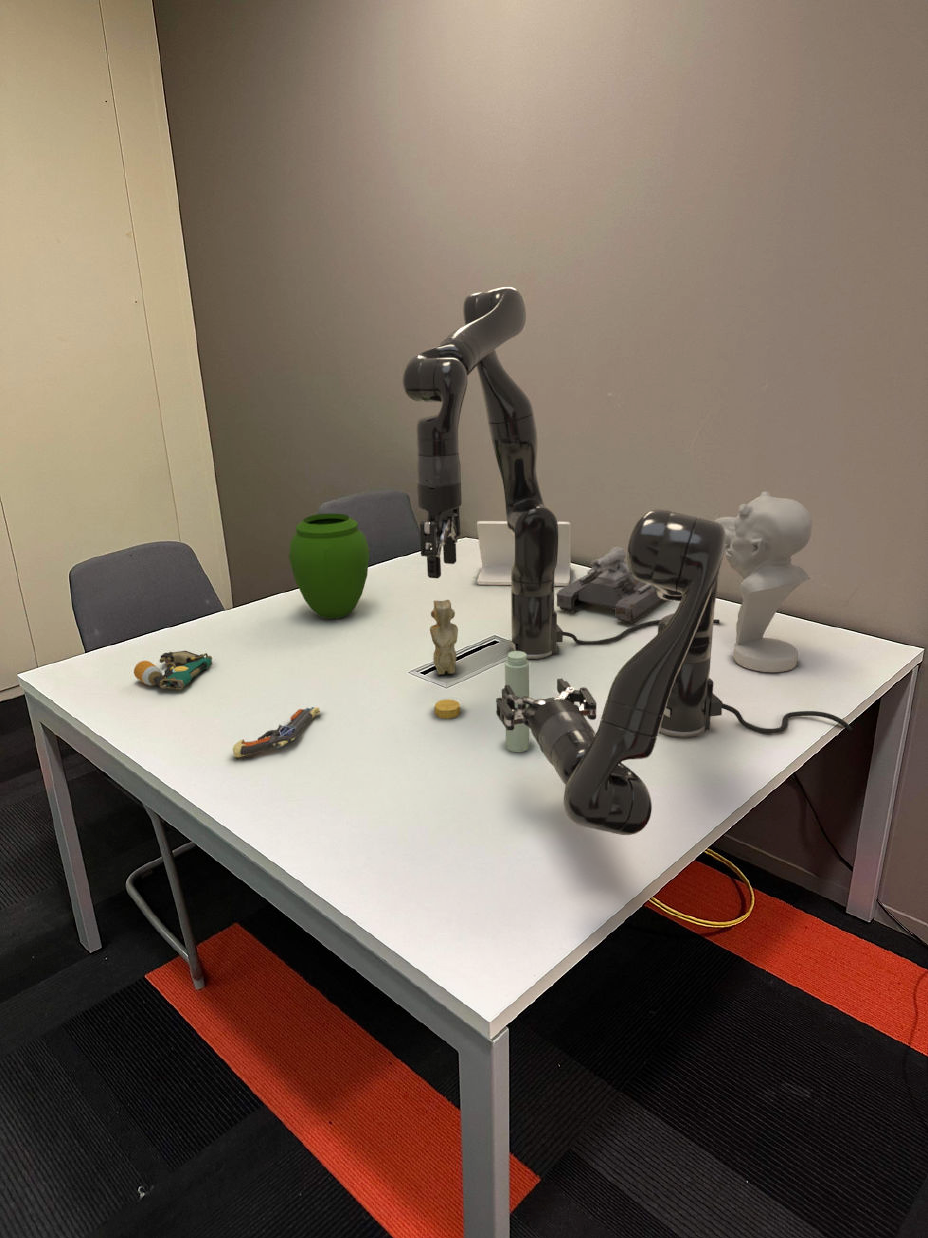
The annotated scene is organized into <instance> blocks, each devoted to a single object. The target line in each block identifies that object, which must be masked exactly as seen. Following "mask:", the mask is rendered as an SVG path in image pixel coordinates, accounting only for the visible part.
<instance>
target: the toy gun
mask: <svg viewBox="0 0 928 1238" xmlns="http://www.w3.org/2000/svg"><path fill="white" fill-rule="evenodd" d="M320 713H321V710H320V707H314V706H311V707H310V708H309V707H306V708H299V709H298V710H296V712H294V714H292V715H291V717H290V720H289V722H288V723H287V724H286V725H282V724H279V725H278V727H277V728H276V729H271V730H270V729H269V730H267V731H266V732H265V733H264V734H263V735H261V736H259V737H258V738H257V740H253V741H245V739H244V738H243V739H241V740H238V742H236V743H235V744H234V745H233V747H232V753H233V756H234V757H235V758H241V757H245V756H249V755H254V754H255V753H256V754H257V753H260V752H263V751H268V750H270V749H273V748H276V747H279V746H280V747H284V746H285V745H287V744H289V742H292V741H294V740H295V739H296V738H297V737H298V736H299V735H300V734H301V732H302V731H303V729H304V727H305V726H306V725H307V724H308V723H309V722H310V721H311V720H312V719H314V717H315V716H316V715H319V714H320Z"/></svg>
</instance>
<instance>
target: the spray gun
mask: <svg viewBox="0 0 928 1238" xmlns="http://www.w3.org/2000/svg"><path fill="white" fill-rule="evenodd" d="M212 660H213V657H212V656H211V655H208V653H207V652H205V653H201V654H197V653H194V652H192V651H191V652H190V651H188V650H180V651H169V652H164V653H162V654H161V655H160V658H159V660H158V662H159V663H161V664H163V663H165V664H166V668H165V670H163V672H164V674H163V673H162V669H160V668H159V666H157V665H156V664H154V663H152V662H151V661H149V660H141V661H139V662H138V663H136V665H135V666H134V668H133V675H134V677H135V678H136V679H137V680H139V681H140V682H142V683H143V684H145V685H147V686H155V685H157V686H158V687H160V688H161V689H171V690H172V689H173V690H182V689H184V687H185V686H186V685H188V684H189V683H190V682H191V681H192V679H193V678H195V677H196V676H197V675H198V674H200V673H201V672H202V671H203V670H206V669H208V668H209V667H210V666H211V665H212V662H213V661H212ZM178 663H179V664H181V665H179V666H176V665H177V664H178Z"/></svg>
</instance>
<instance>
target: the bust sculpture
mask: <svg viewBox="0 0 928 1238" xmlns="http://www.w3.org/2000/svg"><path fill="white" fill-rule="evenodd" d="M713 522H716V523H719V524H721V525H722V526H723V527H724V529H725V533H726V544H725V550H724V554H725V557H726V560H727V561H728V563H729V565H730V568H731V569H732V570H734V572H736V573H737V574H738V575H739V576H741V577H742V578H743V580H742V581H741V583H740V585H739V591H740V593H741V597H742V599H743V600H742V602H741V604H740V607H739V610H738V613H737V621H736V625H735V633H736V634H735V643H734V645H733V653H732V654H733V655H732V658H733V661H734V662H735V663H736V664H738V665H739V666H741V667H743V668H745V669H749V670H751V671H756V672H761V673H782V672H786V671H791V670H793V669H794V668H795V667H796V666H797V664H798V663H797V662H798V656H799V650H798V649H797V647H796V646H794V645H793V644H792V643H789V642H787V641H784V640H782V639H781V640H780V639H777V638H776V639H775V638H770V637H764V635H765V633H766V631H767V629H768V627H769V625H770V623H771V621H772V619H773V618H774V616H775V614H776V612H778V610H779V609H780V607H781V606H782V605H783V603H784V601H786V599H787V598H788V597H789V595H791V594H792V593H793V592H794V590H796V589H797V588H798V587H799V586H801V585H802V584H803V583H805V582H807V581H808V580H811V577H810V575H809V574H808V573H807V571H806V570H805V569H804V568H802V567H801V566H800V565H795V564H792V556H793V555H796V554H799V552H801V551H802V550H804V548H805V547H806V546H807V545H808V544H809V542H810V538H811V535H812V530H813V522H812V516H811V515H810V512H809V511H808V509H807V508H806V507H805V506H804V505H803V504H802V503H800V502H799V501H797V500H795V499H791V498H783V497H774V496H771V494H770V492H769V491H762V492H761V494H760V496H757V497H756V498H754V499H753V500H751V501H749V502H748V504H746V503H742V504H740V505H739V507H738V511H737V516H736V517H732V516H723V517H720V518H716V519H715V520H713Z"/></svg>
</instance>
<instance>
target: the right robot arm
mask: <svg viewBox="0 0 928 1238" xmlns="http://www.w3.org/2000/svg"><path fill="white" fill-rule="evenodd" d="M629 536H630V537H629V539H628V544H627V552H626V553H627V554H626V558H627V561H626V562H627V564H628V567H629V570H630V573H631V575H632V576H633V577H634V578H635V579H637V580H639V581H641V582H644V583H647V584H650V585H653V589H654V592H655V593H656V595H657V596H658V597H659V598H661V599H664V600H666V601H672V602H674V601H675V602H679V604H678V606H677V607H676V610H675V611H674V613H670V614H667V615H665V616H664V617H662V618H661V619H659V620H660V622H659V624H657V634H656V635H655V636H654V637H653V638H652V639H651V640H650V641H649V642H647V643H646V644H645V645H644V646H643V647H641V649H639V650H638V651H637V652H636V653H635V654H634V655H633V656H632V657H631V658H629V659H628V660H627V661H626V663H625V664H623V665H622V667H621V668H620V669H619V671H618V672H617V674H616V675H615V677H614V679H613V680H612V682H611V686H610V688H609V690H608V695H607V698H606V700H605V701H606V702H605V704H604V708H603V711H602V714H601V717H600V721H599V725H598V728H597V730H596V732H595V730H594V728H593V726H592V725H591V724H590V723H589V721H588V720H591V721H593V720H596V719H597V702H596V699H594V697H593V695H592V694H591V692H590V690H589V689H588V688H587V687H583V686H582V687H580V688H579V689H576V688H575V687H573V686H571V684H570V683H569V681H567V680H564V679H563V678H557V680H556V691H557V692H558V694H559V695H557V696H556V697H554V696H553V697H547V698H539V699H538V698H537V699H536V698H532V697H530V696H529V697H527V696H522V697H518V696H515V694H514V692H513V690H512V689H511V687H510V685H505V684H504V685H503V686H504V687H503V688H501V697H497V698H495V703H496V704H495V705H496V711H495V712H496V713H495V714H496V716H497V718H498V719H499V720H500V722H501V723H502V726H503V727H504V728H505V730H506V729H507V730H514V725H517V724H523V723H524V725H526V726H528V727H529V730H530V731H531V734H532V736H533V738H534V739H535V741H536V743H537V744H538V746H539V748H540V751H541V753H543V755H544V757H545V758H546V759H547V761H548V763H550V765H552V767H553V768H554V770H555V772H556V773H557V775H558V777H559V778H560V780H561V781H562V783H563V784H564V786H565V789H564V792H563V806H564V807H563V808H564V811H565V815H566V816H567V818H568V819H569V821H571V822H572V823H573V824H575V825H577V826H580V827H584V828H588V829H593V830H597V831H601V832H607V833H611V834H616V835H620V836H633V835H636V834H638V833H640V832H641V831H643V830H644V829H645V828H646V827H647V825H648V823H649V822H650V819H651V816H652V810H653V804H652V803H653V802H652V797H651V794H650V792H649V789H648V787H647V786H646V784H645V782H644V781H643V780H642V779H641V777H640V776H639V775H637V773H635V772H634V771H633V770H632V769H630V768H629V767H628V766H626V765H625V764H624V763H622V762H624V761H628V760H629V761H630V760H633V761H634V760H645V759H648V758H649V757H650V756H651V755H652V753H653V752H654V749H655V746H656V743H657V740H658V736H659V733H660V734H663V735H665V736H670V737H673V738H693V737H696V736H699V735H702V734H703V733H704V732H705V731H710V729H711V719H712V717H719V716H722V711H723V710H726V711H728V712H730V713H732V714H733V715H734V716H735V717H736V719H737V720H738V722H739V723H740V725H742V726H743V727H745V728H747V729H748V730H750V731H753V732H756V733H761V734H767V735H769V734H771V735H772V734H781V733H783V732H784V731H786V730H787V728H788V723H789V722H788V721H789V719H790V718H795V717H820V718H825V719H829V720H831V721H834V722H836V723H837V724H839V725H840V726H841V727H843V728H845V729H846V730H847V731H853V728H852V726H851V725H850V724H849V723H848V722H846V721H845V720H843V719H842V718H840V717H839V716H837V715H835V714H831V713H829V712H823V711H816V710H799V711H790V712H787V713H786V714H785V715H784V716H782V721H781V726H779V727H775V728H764V727H759V726H756V725H753V724H751V723H749V722H748V721H746V720H745V718H743V716H742V714H741V712H740V711H739V710H738V709H736V708H734V707H733V706H731V705H729V704H726V703H723V701H722V699H720V698H719V697H718V696H717V695H715V693H714V685H715V683H714V681H713V679H712V678H710V675H711V674H710V672H711V671H710V670H711V661H712V647H713V636H714V635H713V633H714V623H713V619H714V618H715V608H716V607H715V606H716V599H717V593H718V587H719V586H718V585H719V580H720V579H719V578H720V569H721V566H722V562H723V559H724V554H725V552H724V550H725V546H726V545H727V544H726V533H725V529H724V527H723V526H722V525H721V524H719V523H716V522H714V520H709V519H705V518H702V517H697V516H693V515H689V514H685V513H680V512H676V511H672V510H668V509H660V508H659V509H657V508H656V509H651V510H649V511H647V512H645V513H644V514H643V515H642V516H641V517H640V518H639V519H638V520H637V522H636V524H635V525H634V527H633V529H632V531H631V534H630V535H629ZM515 703H517V705H518V708H516V707H515ZM575 703H579V706H578V705H577V704H575ZM527 704H528V705H529V706H528V707H527ZM585 717H587V718H585ZM587 719H588V720H587Z"/></svg>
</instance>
